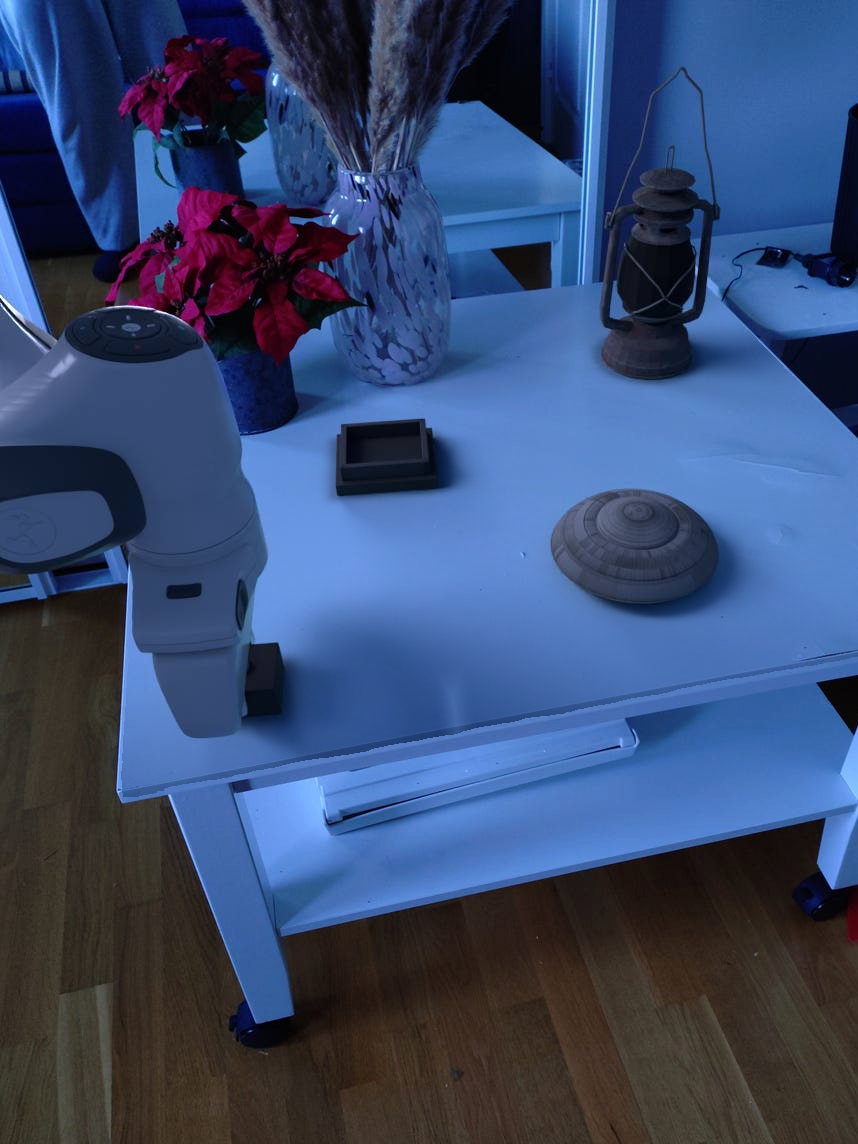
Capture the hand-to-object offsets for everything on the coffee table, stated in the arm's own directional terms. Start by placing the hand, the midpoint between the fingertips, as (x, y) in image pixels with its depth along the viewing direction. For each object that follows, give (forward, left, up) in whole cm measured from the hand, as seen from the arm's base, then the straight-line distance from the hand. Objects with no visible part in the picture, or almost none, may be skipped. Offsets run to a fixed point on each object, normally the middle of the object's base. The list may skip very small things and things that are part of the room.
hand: (240, 679), depth 73 cm
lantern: (+43, +48, -2) cm, 64 cm away
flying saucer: (+34, +13, -2) cm, 36 cm away
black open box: (+12, +30, -2) cm, 32 cm away
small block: (0, 0, -2) cm, 2 cm away
